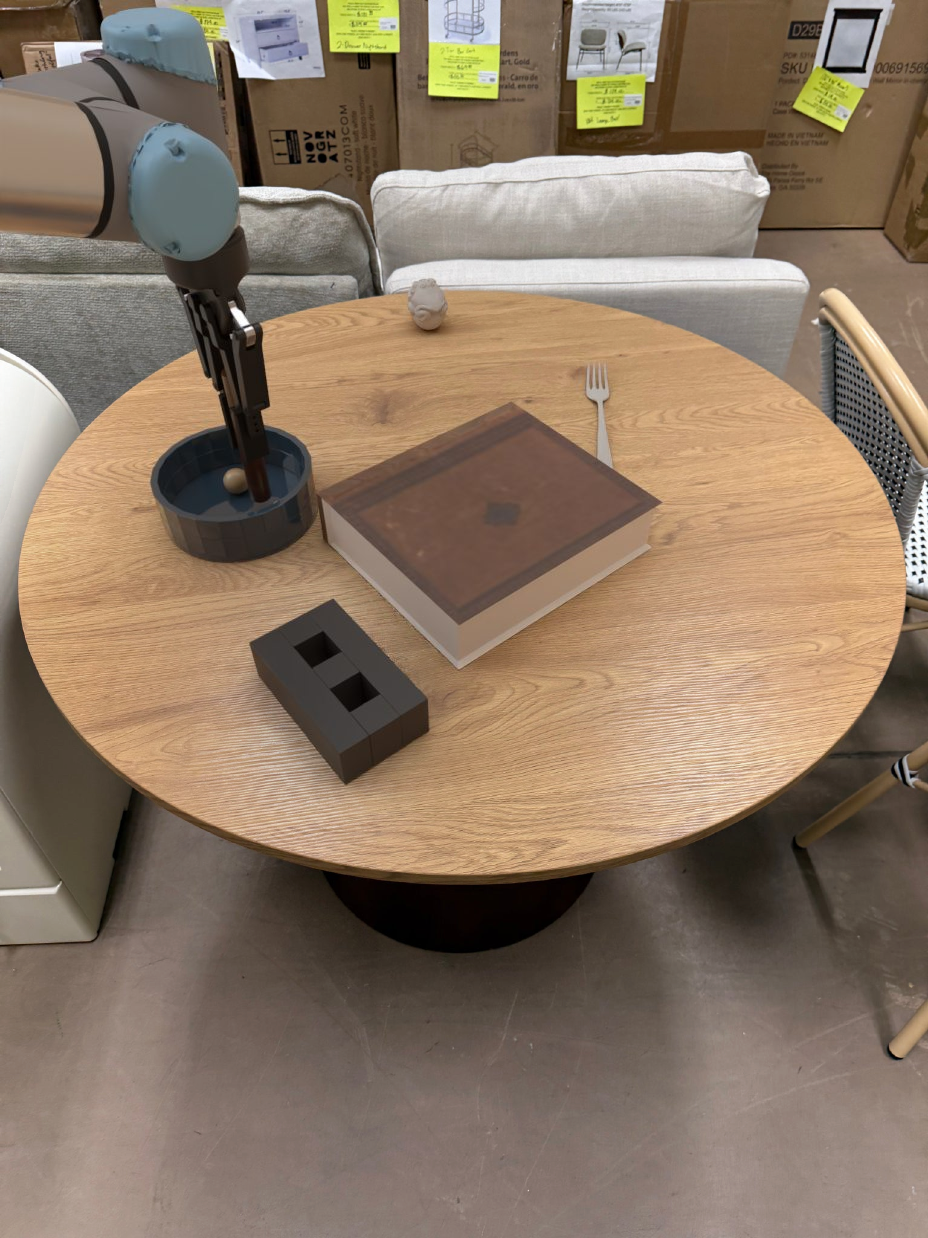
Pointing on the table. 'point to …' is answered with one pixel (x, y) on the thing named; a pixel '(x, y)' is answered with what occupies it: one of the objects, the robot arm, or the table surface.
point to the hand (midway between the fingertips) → (250, 449)
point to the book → (486, 528)
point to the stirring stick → (254, 469)
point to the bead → (235, 481)
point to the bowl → (233, 497)
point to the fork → (600, 413)
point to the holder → (341, 689)
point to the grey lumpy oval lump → (427, 303)
